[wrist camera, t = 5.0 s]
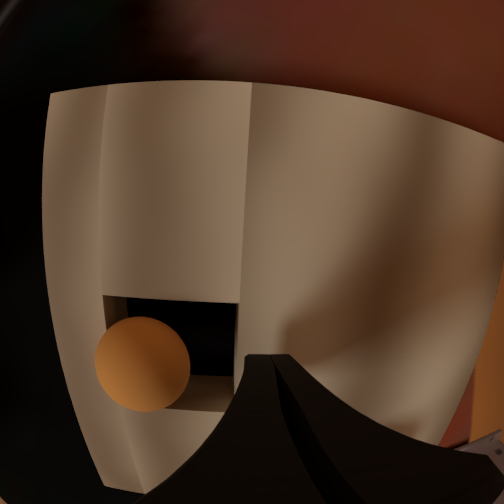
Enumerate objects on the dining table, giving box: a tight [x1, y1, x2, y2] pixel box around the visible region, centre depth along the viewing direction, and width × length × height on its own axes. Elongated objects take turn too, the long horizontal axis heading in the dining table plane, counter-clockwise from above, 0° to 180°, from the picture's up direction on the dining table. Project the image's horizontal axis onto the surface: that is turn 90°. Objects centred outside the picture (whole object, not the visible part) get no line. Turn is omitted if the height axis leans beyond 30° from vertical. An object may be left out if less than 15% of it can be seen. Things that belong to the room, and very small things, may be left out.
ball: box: [95, 317, 190, 412], centre depth 9 cm, size 3×3×3 cm
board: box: [42, 80, 504, 494], centre depth 12 cm, size 18×18×2 cm
